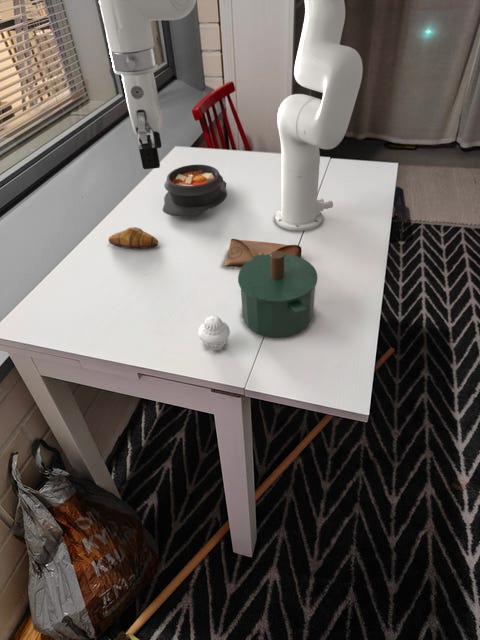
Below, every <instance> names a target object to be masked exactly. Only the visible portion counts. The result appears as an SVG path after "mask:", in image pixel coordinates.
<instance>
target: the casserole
mask: <svg viewBox="0 0 480 640" xmlns="http://www.w3.org/2000/svg"><path fill="white" fill-rule="evenodd" d="M163 187H164V190H166V191H167V192H166V194H164V197H163V202H164V204H163V207H162V212H163V213H164V214H166V215H169V216H171V217H177V218H193V217H199V216H201V215H202V214H204V213H205V212H206V211H209V210H210V209H213V208H216V207H217V206H219V205H221V204H222V203H224V201H226V199H227V197H228V192H227V182H226V181H225V180H224V178H223V176H222V175H221V174H220V172H219V170H218V169H217V168H216V167H213V166H211V165H208V164H188V165H183V166H180V167H177V168H175V169H173V170H171V171H170V172H169V173H168V174H167V176H166V180H165V181H164V186H163Z"/></svg>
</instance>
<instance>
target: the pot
mask: <svg viewBox="0 0 480 640" xmlns="http://www.w3.org/2000/svg"><path fill="white" fill-rule="evenodd" d="M259 256H263V254H262V255H258V256H254V257H252V259H254V258H256V257H259ZM315 293H316V287H315V288H314V289H313V291H312V292H311V293H309V294H308V295H307V296H305V297H303V298H301V299H299V300H296V301H292V302H288V303H267V302H262V301H258V300H256V299H253V298H251V297H250V296H248V295H247V294H245V293H244V292H243V291H242V289H241V288H240V296H241V311H242V313H241V314H242V319H243V322H244V324H245V325H246V327H247V328H248V329H249V330H250V331H252V332H253V333H255V334H257V335H259V336H261V337H264V338H269V339H285V338H290V337H293V336H294V337H295V336H296V335H298V334H301V333H302V332H304V331H305V330H306V329H307V328H308V327H309V326H310V324H311V323H312V320H313V317H314V309H315V308H314V307H315Z"/></svg>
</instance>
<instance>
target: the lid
mask: <svg viewBox="0 0 480 640" xmlns="http://www.w3.org/2000/svg"><path fill="white" fill-rule="evenodd" d="M318 277H319V276H318V272H317V269H316V268H315V267H314V266H313V264H312V263H310V262H309V261H308V260H306V259H304V258H303V257H301V258H300V257H297V256H294V255H289V254H284V253H283V252H281V251H274V252H272V253H271V254H267V255H263V256H259V257H256V258H254V259H252V260H250V261H249V262H247V263H246V264H245V265H244V266H243V267H240V269H239V271H238V275H237V283H238V286H239V288H240V290H241V289H242V291H243V292H244V293H245V294H247V295H248V296H250V297H251V298H253V299H256V300H258V301H262V302H267V303H288V302H292V301H296V300H299V299H301V298H303V297H305V296H307V295H308V294H309V293H311V292H312V291H313V289H314V288H315V289H316V286H317V283H318Z"/></svg>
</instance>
